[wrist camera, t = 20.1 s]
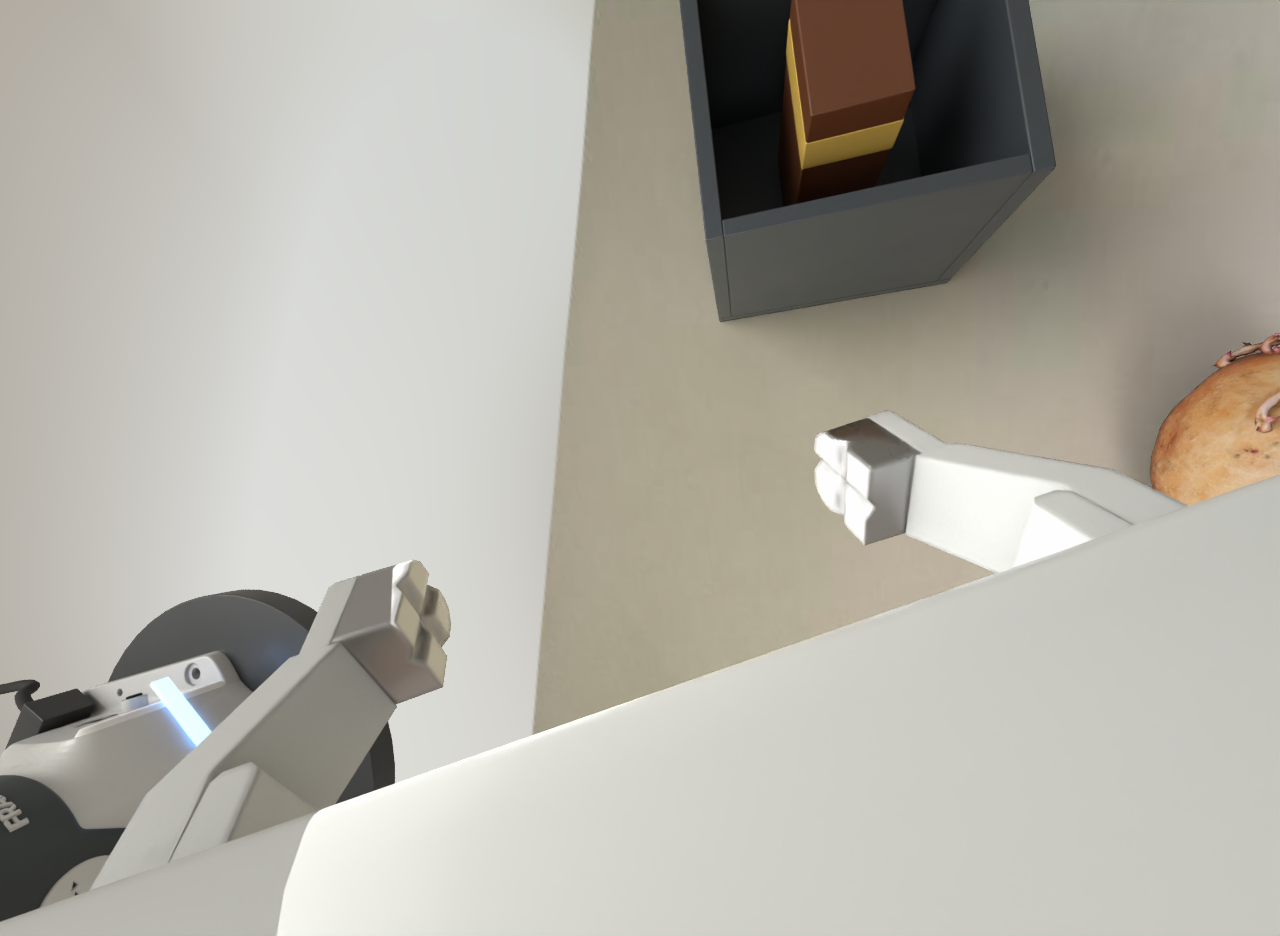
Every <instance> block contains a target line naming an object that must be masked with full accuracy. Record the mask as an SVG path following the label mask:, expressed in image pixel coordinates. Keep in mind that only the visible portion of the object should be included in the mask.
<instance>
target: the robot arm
mask: <svg viewBox="0 0 1280 936" xmlns="http://www.w3.org/2000/svg"><path fill="white" fill-rule="evenodd" d="M814 452H815V453H816V454H817V455H818V456H819V457H820V458H821V460H820V462H819V463H818V465H817V467H816V468H815V484H816V487H817V490H818V493H819V496H820V497H821V499H822V501H823V502H824V504H825V505H826V506H827V507H828V508H829V509H830V510H831V511H832V512H835V513H838V514H842V515H845V516H844V525H845V526H846V527H847V528H848V529H849V530H850V531H851V532H852V533H853V534H854V535H855V536H856V537H857V538H858V539H859V540H860V541H861V542H862V543H863V544H864V545H867V544H871V543H874V542H877V541H880V540H884V539H887V538H890V537H893V536H897V535H900V534H903V533H906V534H905V535H907V536H909V537H912V538H914V539H916V540H919V541H921V542H923V543H926V544H928V545H931V546H933V547H935V548H938V549H940V550H943V551H945V552H947V553H950V554H952V555H955V556H957V557H959V558H962V559H964V560H967V561H969V562H971V563H974V564H976V565H978V566H981V567H983V568H986V569H988V570H990V571H993V572H995V574H993V575H990V576H987V577H984V578H981V579H978V580H975V581H973V582H970V583H967V584H964V585H961V586H958V587H955V588H953V589H950V590H947V591H944V592H941V593H938V594H935V595H933V596H930V597H927V598H924V599H921V600H918V601H915V602H913V603H910V604H907V605H904V606H901V607H898V608H895V609H893V610H890V611H887V612H884V613H881V614H878V615H875V616H873V617H870V618H867V619H864V620H861V621H858V622H855V623H852V624H850V625H847V626H844V627H841V628H838V629H835V630H832V631H830V632H827V633H824V634H821V635H818V636H815V637H812V638H810V639H807V640H804V641H801V642H798V643H795V644H792V645H790V646H787V647H784V648H781V649H778V650H775V651H772V652H770V653H767V654H764V655H761V656H758V657H755V658H752V659H750V660H747V661H744V662H741V663H738V664H735V665H732V666H730V667H727V668H724V669H721V670H718V671H715V672H712V673H710V674H707V675H704V676H701V677H698V678H695V679H692V680H690V681H687V682H684V683H681V684H678V685H675V686H672V687H670V688H667V689H664V690H661V691H658V692H655V693H652V694H650V695H647V696H644V697H641V698H638V699H635V700H632V701H630V702H627V703H624V704H621V705H618V706H615V707H612V708H610V709H607V710H604V711H601V712H598V713H595V714H592V715H590V716H587V717H584V718H581V719H578V720H575V721H572V722H570V723H567V724H564V725H561V726H558V727H555V728H552V729H550V730H547V731H544V732H541V733H538V734H535V735H532V736H530V737H527V738H524V739H521V740H518V741H515V742H512V743H510V744H507V745H504V746H501V747H498V748H495V749H493V750H490V751H487V752H484V753H481V754H478V755H476V756H473V757H470V758H467V759H464V760H461V761H458V762H455V763H452V764H450V765H447V766H444V767H441V768H438V769H435V770H432V771H430V772H427V773H424V774H421V775H418V776H415V777H413V778H410V779H407V780H404V781H401V782H398V783H395V784H392V785H390V786H387V787H384V788H381V789H378V790H375V791H372V792H370V793H367V794H364V795H361V796H358V797H355V798H352V799H350V800H347V801H344V802H341V803H338V804H336V802H337V800H338V799H339V797H340V796H341V794H342V793H343V791H344V789H345V788H346V786H347V785H348V783H349V781H350V780H351V778H352V777H353V775H354V774H355V772H356V770H357V769H358V767H359V766H360V764H361V763H362V761H363V759H364V758H365V756H366V755H367V753H368V751H369V750H370V748H371V747H372V745H373V744H374V742H375V740H376V739H377V737H378V736H379V734H380V733H381V731H382V729H383V728H384V726H385V725H386V723H387V721H388V720H389V718H390V717H391V715H392V714H393V712H394V710H395V709H396V707H397V706H396V705H395V704H398V703H401V702H403V701H406V700H409V699H412V698H415V697H417V696H420V695H423V694H425V693H428V692H431V691H433V690H436V689H439V688H442V687H443V682H444V675H445V667H446V660H447V655H446V654H445V653H444V651H443V650H442V648H441V647H442V646H443V645H444V643H445V642H446V641H447V639H448V638H449V637H450V628H451V621H450V614H449V609H448V606H447V603H446V601H445V599H444V597H443V595H442V594H441V592H440V591H439V590H438V589H436V588H433V587H431V586H429V585H427V580H428V576H429V573H428V572H427V570H426V569H425V568H424V567H423V565H422V563H421V562H420V561H416V560H411V561H407V562H404V563H401V564H397V565H394V566H391V567H387V568H383V569H380V570H377V571H373V572H370V573H367V574H363V575H361V576H356V577H353V578H350V579H347V580H344V581H340V582H337V583H335V584H334V585H332V586H330V587H329V588H328V590H327V593H326V595H325V597H324V600H323V602H322V604H321V606H320V609H319V611H318V613H317V615H316V617H315V620H314V622H313V624H312V626H311V628H310V631H309V633H308V635H307V637H306V640H305V642H304V644H303V646H302V649H301V651H300V653H299V655H296V656H293V657H290V658H289V659H288V660H287V661H286V662H285V663H283V664H282V665H281V666H280V667H279V668H278V669H277V670H276V671H275V672H274V673H273V674H272V675H271V676H270V677H269V678H268V679H267V680H266V681H265V682H264V683H262V684H261V685H260V686H259V687H258V688H257V689H256V690H255V691H254V692H252V691H251V690H250V689H249V688H248V687H247V686H246V685H245V684H244V683H243V682H242V681H241V680H240V678H239V676H238V674H237V672H236V670H235V668H234V666H233V665H232V663H231V661H230V660H229V658H228V657H227V656H226V655H225V654H224V653H223V652H221V651H213V652H210V653H206V654H203V655H199V656H196V657H193V658H189V659H186V660H182V661H179V662H176V663H172V664H169V665H165V666H162V667H158V668H155V669H152V670H148V671H145V672H141V673H138V674H135V675H131V676H128V677H124V678H121V679H117V680H114V681H111V682H107V683H104V684H101V685H98V686H95V687H93V688H90V689H87V690H85V691H83V692H80V691H79V690H78V689H73V690H70V691H66V692H63V693H60V694H56V695H53V696H49V697H46V698H42V699H39V700H36V701H34V700H33V699H32V698H31V694H32V693H34V692H35V691H37V690H38V688H39V687H40V683H39V682H37V681H35V680H22V681H16V682H12V683H7V684H2V685H0V694H5V693H9V692H14V691H18V692H17V693H16V695H15V703H16V705H17V707H18V709H19V710H20V711H21V713H20V715H19V717H18V720H17V723H16V725H15V727H14V730H13V732H12V734H11V737H10V739H9V742H8V744H7V746H6V749H5V751H4V752H3V753H2V754H1V756H0V936H1280V474H1278V475H1275V476H1273V477H1270V478H1267V479H1264V480H1261V481H1258V482H1255V483H1253V484H1250V485H1247V486H1244V487H1241V488H1238V489H1235V490H1233V491H1230V492H1227V493H1224V494H1221V495H1218V496H1215V497H1213V498H1210V499H1207V500H1204V501H1201V502H1198V503H1195V504H1193V505H1190V506H1188V505H1186V504H1184V503H1182V502H1180V501H1178V500H1176V499H1174V498H1172V497H1170V496H1168V495H1165V494H1163V493H1161V492H1159V491H1157V490H1155V489H1153V488H1151V487H1149V486H1147V485H1145V484H1143V483H1141V482H1139V481H1137V480H1135V479H1132V478H1130V477H1128V476H1126V475H1124V474H1122V473H1120V472H1118V471H1116V470H1114V469H1110V468H1104V467H1098V466H1092V465H1086V464H1080V463H1074V462H1068V461H1062V460H1056V459H1050V458H1044V457H1038V456H1033V455H1027V454H1021V453H1015V452H1009V451H1003V450H997V449H991V448H985V447H979V446H973V445H967V444H961V443H953V444H950V445H948V444H946V443H945V442H943V441H941V440H940V439H938V438H936V437H935V436H933V435H931V434H930V433H928V432H926V431H925V430H923V429H921V428H920V427H918V426H916V425H915V424H913V423H911V422H910V421H908V420H906V419H905V418H903V417H901V416H900V415H898V414H896V413H895V412H893V411H883V412H880V413H877V414H874V415H871V416H868V417H866V418H863V419H862V420H859V421H856V422H853V423H849V424H846V425H843V426H840V427H837V428H834V429H831V430H828V431H825V432H822V433H819V434H817V436H816V439H815V448H814Z"/></svg>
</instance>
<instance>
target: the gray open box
mask: <svg viewBox="0 0 1280 936" xmlns="http://www.w3.org/2000/svg"><path fill="white" fill-rule="evenodd" d="M679 1H680V10H681V19H682V28H683V37H684V46H685V56H686V65H687V74H688V83H689V92H690V101H691V110H692V120H693V129H694V138H695V147H696V156H697V165H698V174H699V184H700V193H701V202H702V211H703V220H704V229H705V238H706V245H707V251H708V257H709V263H710V268H711V274H712V280H713V286H714V292H715V298H716V304H717V310H718V316H719V321H720V322H722V321H728V320H734V319H740V318H745V317H751V316H757V315H763V314H769V313H775V312H780V311H786V310H792V309H798V308H804V307H809V306H815V305H821V304H827V303H833V302H838V301H844V300H850V299H856V298H862V297H867V296H873V295H879V294H885V293H891V292H896V291H902V290H908V289H914V288H920V287H925V286H931V285H937V284H943V283H947V282H948V281H949V280H950V279H951V278H952V276H953V275H954V274H955V273H956V272H957V271H958V270H959V269H960V268H961V267H962V266H963V265H964V264H965V263H966V262H967V261H968V260H969V258H970V257H971V256H972V255H973V254H974V253H975V252H976V251H977V250H978V249H979V248H980V247H981V246H982V245H983V244H984V243H985V241H986V240H987V239H988V238H989V237H990V236H991V235H992V234H993V233H994V232H995V231H996V230H997V229H998V228H999V227H1000V226H1001V225H1002V223H1003V222H1004V221H1005V220H1006V219H1007V218H1008V217H1009V216H1010V215H1011V214H1012V213H1013V212H1014V211H1015V210H1016V209H1017V208H1018V206H1019V205H1020V204H1021V203H1022V202H1023V201H1024V200H1025V199H1026V198H1027V197H1028V196H1029V195H1030V194H1031V193H1032V192H1033V191H1034V190H1035V188H1036V187H1037V186H1038V185H1039V184H1040V183H1041V182H1042V181H1043V180H1044V179H1045V178H1046V177H1047V176H1048V175H1049V174H1050V173H1051V171H1052V170H1053V169H1054V168H1055V167H1056V163H1055V157H1054V151H1053V145H1052V139H1051V133H1050V127H1049V121H1048V115H1047V109H1046V103H1045V97H1044V91H1043V85H1042V79H1041V73H1040V67H1039V61H1038V55H1037V49H1036V43H1035V37H1034V31H1033V25H1032V19H1031V13H1030V7H1029V1H1028V0H902V1H903V7H904V14H905V20H906V27H907V34H908V40H909V47H910V53H911V60H912V66H913V73H914V79H915V86H916V89H915V92H914V94H913V96H912V99H911V101H910V104H909V106H908V109H907V111H906V113H905V116H904V121H903V124H902V126H901V128H900V131H899V133H898V136H897V138H896V140H895V143H894V145H893V148H891V150H890V152H889V154H888V157H887V159H886V162H885V164H884V167H883V169H882V171H881V174H880V176H879V179H878V181H877V183H876V186H875V187H872V188H867V189H863V190H858V191H853V192H849V193H844V194H840V195H835V196H830V197H826V198H821V199H817V200H812V201H807V202H803V203H798V204H794V205H789V206H784V205H783V198H782V190H781V182H780V174H779V166H778V149H779V138H780V126H781V115H782V103H783V92H784V80H785V69H786V48H787V36H788V24H789V19H790V11H791V0H679Z"/></svg>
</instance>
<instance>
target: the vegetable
mask: <svg viewBox="0 0 1280 936" xmlns="http://www.w3.org/2000/svg"><path fill="white" fill-rule="evenodd" d="M1278 338H1280V333H1276V334H1274V335H1272V336H1270V337H1269V338H1267V339H1266V340H1265V341H1264V342H1262V343H1258V344H1255V345H1251V344H1250V343H1243V342H1242V343H1243V344H1245V346H1244V347H1242V348H1241V349H1239V350H1236V351H1234V352H1232V353H1231V351H1230V352H1228V353H1227V354H1226V355H1224V356H1222V357H1221V358H1220V359H1219V360H1218V361H1217V362H1216V364H1215V365H1213V366H1217V367H1218V368H1220V369H1219V370H1218V371H1216V372H1215V373H1213V374H1212V375H1211V376H1209V377H1208V378H1207V379H1206V380H1204V381H1203V382H1202V383H1201V384H1200V385H1199V386H1198V387H1197V388H1195V389H1194V390H1193V391H1192V392H1191V393H1190V394H1189V395H1188V396H1187V397H1185V398H1184V399H1183V400H1182V401H1180V402H1179V403H1178V404H1177V406H1176V407H1175V408H1174V409H1173V410H1172V411H1171V412H1170V413H1169V415H1168V416H1167V418H1166V419H1165V421H1164V422H1163V424H1162V426H1161V427H1160V430H1159V434H1158V437H1157V440H1156V444H1155V447H1154V450H1153V454H1152V457H1151V467H1150V477H1151V482H1152V487H1153V489H1155V490H1157V491H1159V492H1161V493H1163V494H1165V495H1168V496H1170V497H1172V498H1174V499H1176V500H1178V501H1180V502H1182V503H1184V504H1186V505H1188V506H1190V505H1193V504H1195V503H1198V502H1201V501H1204V500H1207V499H1210V498H1213V497H1215V496H1218V495H1221V494H1224V493H1227V492H1230V491H1233V490H1235V489H1238V488H1241V487H1244V486H1247V485H1250V484H1253V483H1255V482H1258V481H1261V480H1264V479H1267V478H1270V477H1273V476H1275V475H1278V474H1280V347H1277V346H1278V345H1279V344H1280V340H1277V339H1278ZM1275 345H1276V346H1275ZM1273 346H1275V348H1274V349H1272V347H1273ZM1257 350H1259V351H1260V352H1261V353H1256V354H1251V353H1253V352H1255V351H1257ZM1247 354H1251V355H1248V356H1244V357H1241V358H1238V359H1236V357H1239V356H1241V355H1247ZM1235 359H1236V360H1235Z"/></svg>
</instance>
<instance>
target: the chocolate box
mask: <svg viewBox="0 0 1280 936" xmlns="http://www.w3.org/2000/svg"><path fill="white" fill-rule="evenodd" d="M915 89H916V86H915V79H914V73H913V66H912V60H911V53H910V47H909V40H908V34H907V27H906V20H905V14H904V7H903V1H902V0H791V11H790V19H789V24H788V36H787V48H786V69H785V80H784V92H783V103H782V115H781V126H780V138H779V149H778V166H779V174H780V182H781V190H782V198H783V205H784V206H789V205H794V204H798V203H803V202H807V201H812V200H817V199H821V198H826V197H830V196H835V195H840V194H844V193H849V192H853V191H858V190H863V189H867V188H872V187H875V186H876V183H877V181H878V179H879V176H880V174H881V171H882V169H883V167H884V164H885V162H886V159H887V157H888V154H889V152H890V150H891V148H893V145H894V143H895V140H896V138H897V136H898V133H899V131H900V128H901V126H902V124H903V121H904V116H905V113H906V111H907V109H908V106H909V104H910V101H911V99H912V96H913V94H914V92H915Z"/></svg>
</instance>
